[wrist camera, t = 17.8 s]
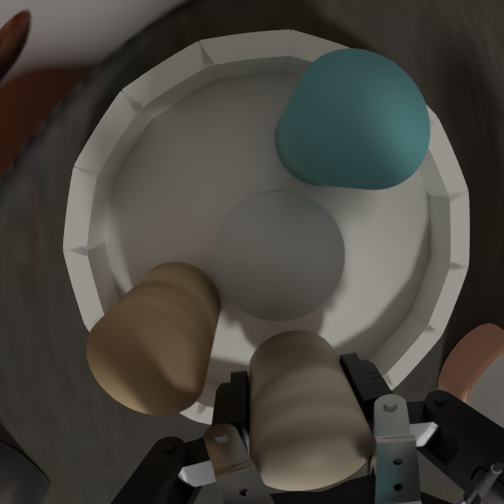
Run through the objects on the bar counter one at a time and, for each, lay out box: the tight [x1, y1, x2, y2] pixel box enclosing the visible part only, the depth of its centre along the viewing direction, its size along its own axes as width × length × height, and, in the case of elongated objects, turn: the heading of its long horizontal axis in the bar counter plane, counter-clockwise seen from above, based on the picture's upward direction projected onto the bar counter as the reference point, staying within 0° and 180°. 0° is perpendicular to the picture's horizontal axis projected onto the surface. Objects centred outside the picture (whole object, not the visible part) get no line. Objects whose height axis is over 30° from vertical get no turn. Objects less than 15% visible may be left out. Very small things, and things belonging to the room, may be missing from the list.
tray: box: [63, 30, 470, 424], centre depth 14 cm, size 20×20×3 cm
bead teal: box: [275, 48, 430, 190], centre depth 10 cm, size 4×4×6 cm
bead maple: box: [249, 330, 373, 491], centre depth 11 cm, size 4×4×6 cm
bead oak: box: [86, 262, 221, 415], centre depth 12 cm, size 4×4×6 cm
